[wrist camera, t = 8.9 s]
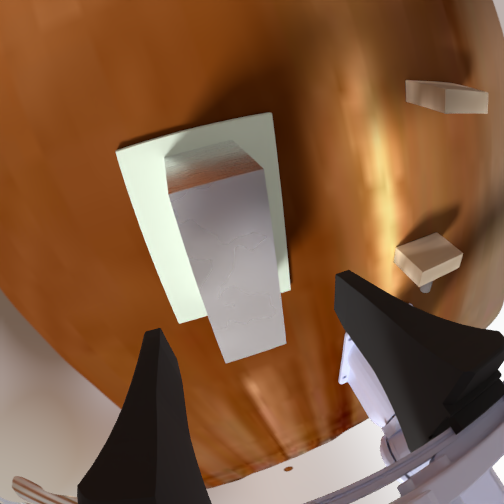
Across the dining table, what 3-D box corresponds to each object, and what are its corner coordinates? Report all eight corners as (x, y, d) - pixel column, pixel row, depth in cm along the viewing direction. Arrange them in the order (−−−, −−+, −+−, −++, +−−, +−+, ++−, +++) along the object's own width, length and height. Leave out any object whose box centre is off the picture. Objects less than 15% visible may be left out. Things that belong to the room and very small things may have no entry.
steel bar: (259, 288, 21) (286, 343, 17) (208, 304, 20) (225, 363, 16) (232, 139, 15) (264, 169, 11) (163, 157, 15) (168, 194, 11)
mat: (288, 286, 22) (290, 289, 22) (178, 319, 21) (179, 323, 21) (269, 112, 15) (271, 113, 15) (116, 150, 14) (115, 151, 14)
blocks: (429, 266, 26) (452, 288, 24) (389, 283, 26) (412, 308, 23) (451, 82, 17) (488, 92, 14) (405, 80, 16) (445, 88, 13)
